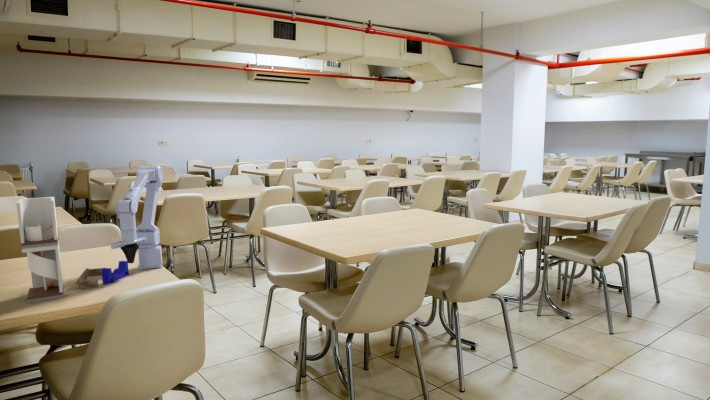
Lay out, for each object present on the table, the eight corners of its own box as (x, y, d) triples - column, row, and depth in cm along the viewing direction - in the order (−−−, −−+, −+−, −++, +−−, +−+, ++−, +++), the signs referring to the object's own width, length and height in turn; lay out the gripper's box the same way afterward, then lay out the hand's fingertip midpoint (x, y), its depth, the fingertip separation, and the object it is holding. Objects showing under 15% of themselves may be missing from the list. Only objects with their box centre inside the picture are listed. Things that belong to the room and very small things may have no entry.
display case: (29, 293, 183) (19, 198, 177) (63, 288, 188) (54, 196, 183) (27, 303, 173) (16, 203, 168) (63, 297, 178) (53, 200, 173)
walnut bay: (105, 273, 207) (105, 266, 206) (97, 286, 190) (97, 279, 189) (86, 275, 205) (86, 268, 204) (77, 288, 188) (76, 280, 187)
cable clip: (118, 274, 205) (117, 260, 205) (128, 275, 205) (127, 261, 204) (99, 283, 194) (97, 269, 193) (109, 284, 193) (108, 269, 192)
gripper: (138, 225, 207) (140, 257, 209) (105, 231, 195) (107, 265, 197) (149, 227, 203) (151, 259, 205) (115, 233, 191) (118, 268, 193)
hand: (130, 262), depth 201 cm, fingers closed
